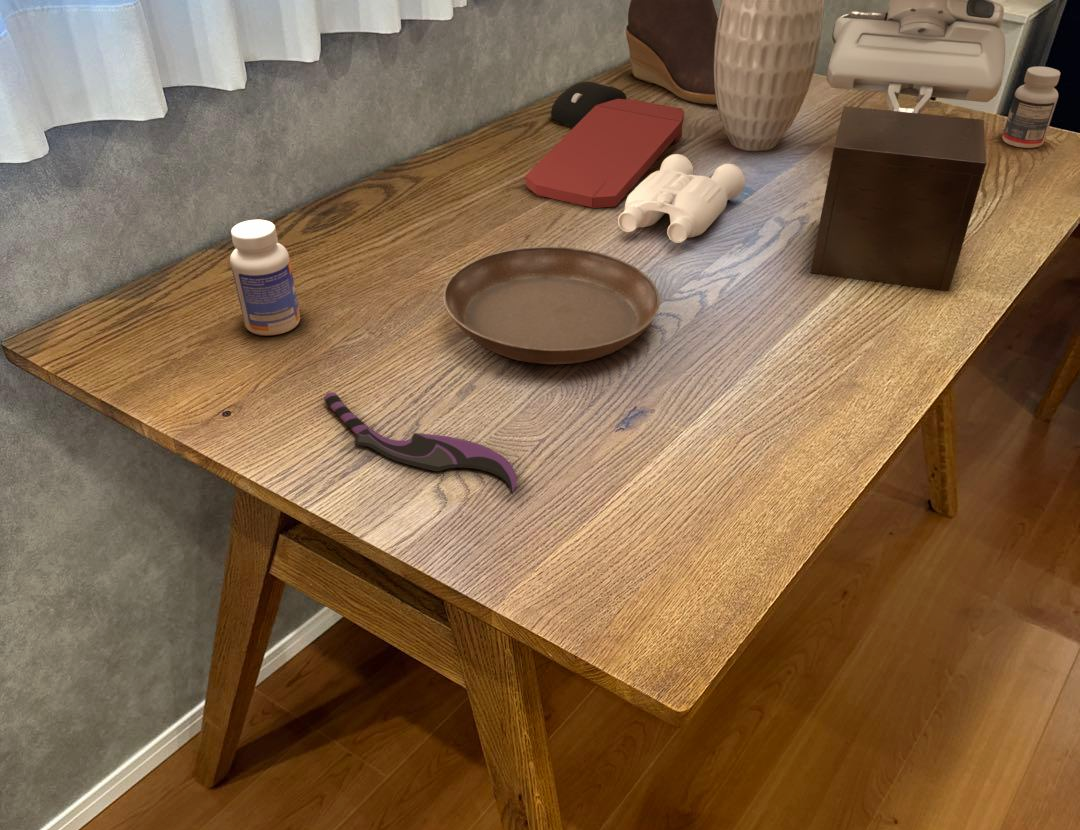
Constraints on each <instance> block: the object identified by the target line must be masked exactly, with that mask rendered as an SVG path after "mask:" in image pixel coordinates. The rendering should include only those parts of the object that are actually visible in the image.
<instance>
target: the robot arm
mask: <svg viewBox="0 0 1080 830" xmlns="http://www.w3.org/2000/svg"><path fill="white" fill-rule="evenodd" d="M1004 15H1005V8H1004V6H1003V5H1002V4H1001V3H998V2H997V1H993V0H889V4H888V7H887V12H884V11H883V12H882V11H881V12H880V11H861V10H857V9H856V10H849V13H844V14H842V15H840V16H839V17H838V18H837V19H836V20H835V22H834V23H833V30H832V33H831V34H832V35H831V39H832V42H833V43H834V46H833V49H832V50H831V51H832V52H831V54H830V59H829V62H828V66H827V74H826V81H827V83H828V85H829V86H830V88H833V89H837V90H838V89H841V90H850V91H861V92H873V93H883V94H886V96H885V102H886V105H887V107H888V110H889V111H899V112H909V113H919V114H922V113H923V112H924V110H925V109H926V108H927V107H928V106H929V105H930V101H931V98H935V99H945V100H957V101H958V100H959V101H969V102H979V103H989V102H990V101H991V100H993V99H994V98H995V97H996V96H997V95H998V93H999V91H1000V88H1001V86H1002V83H1003V78H1004V73H1005V64H1006V38H1005V35H1004V33H1003V31H1002V30H1001V27H1002V23H1003V19H1004ZM900 95H905V96H914V97H917V101H916V105H915V106H914V107H913V108H909V107H908V108H907V107H900V104H899V101H898V100H899V96H900Z"/></svg>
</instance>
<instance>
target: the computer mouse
mask: <svg viewBox="0 0 1080 830" xmlns="http://www.w3.org/2000/svg"><path fill="white" fill-rule="evenodd" d="M615 99H624V100H625V99H628V97H627V95H626V93H625V92H624V91H622V90H621V89H619V88H617V87H615V86H612V85H608V84H605V83H600V82H595V81H581V82H577V83H574V84H572V85H570V86H569V87H568V88H566V89H565V90H564V91H563V92H561V93H560V94H559V96H558V97H556V99H555V101H554V102H553V104H552V107H551V110H550V117H551V119H552V120H554V121H555V122H558V123H561V124H562V125H563V124H564V125H567V126H570V127H573V128H574V127H575V126H576V125H577V124H578V123H579V122H580V121H581V120H582V119H583V118H584V117H585V116H586V115H587V114H588V113H589V112H590V111H591V110H592V109H593V108H594V107H595V106H596V105H598V104H602V103H605V102H608V101H612V100H615Z"/></svg>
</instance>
